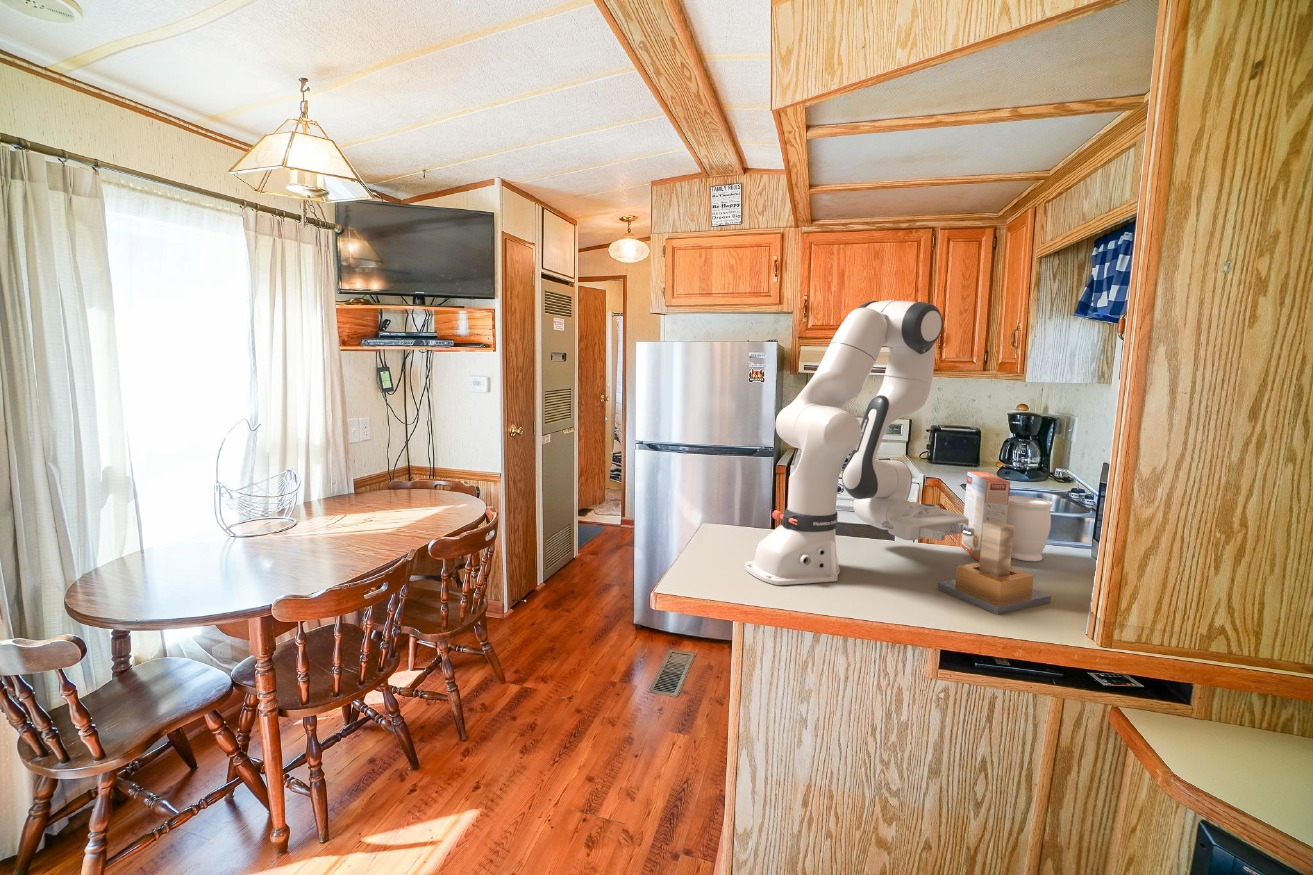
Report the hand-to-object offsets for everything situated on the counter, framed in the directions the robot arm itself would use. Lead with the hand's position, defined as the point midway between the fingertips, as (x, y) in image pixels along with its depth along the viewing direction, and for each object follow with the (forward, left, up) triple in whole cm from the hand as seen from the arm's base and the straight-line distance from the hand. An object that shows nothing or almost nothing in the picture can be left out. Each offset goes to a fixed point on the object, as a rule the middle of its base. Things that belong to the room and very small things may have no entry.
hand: (957, 534), depth 129 cm
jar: (+32, +6, -11) cm, 34 cm away
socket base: (0, -9, -11) cm, 14 cm away
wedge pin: (0, -9, -9) cm, 13 cm away
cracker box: (+23, +11, -11) cm, 28 cm away
